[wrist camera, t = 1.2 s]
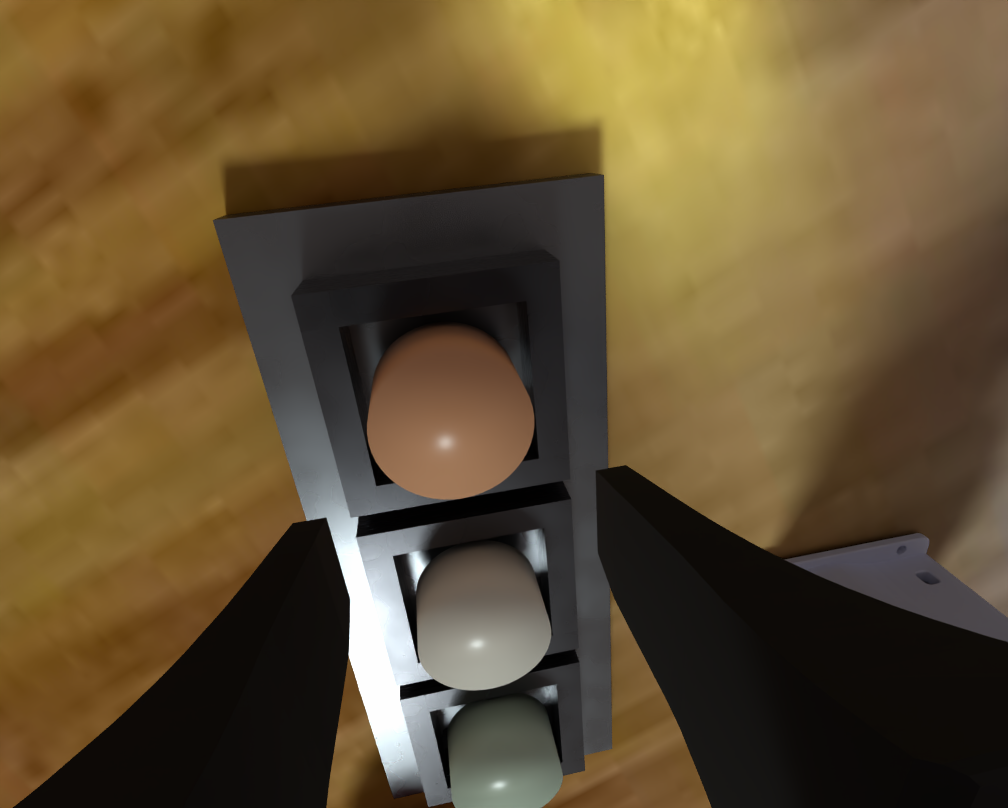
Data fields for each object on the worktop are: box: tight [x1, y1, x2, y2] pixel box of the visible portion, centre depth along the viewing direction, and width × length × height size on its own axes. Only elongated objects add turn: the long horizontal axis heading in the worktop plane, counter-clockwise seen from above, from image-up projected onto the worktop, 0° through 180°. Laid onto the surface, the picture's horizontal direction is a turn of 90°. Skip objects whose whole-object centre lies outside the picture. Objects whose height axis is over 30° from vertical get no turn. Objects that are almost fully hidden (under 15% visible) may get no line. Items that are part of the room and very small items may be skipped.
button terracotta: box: [367, 322, 534, 500], centre depth 16 cm, size 4×4×2 cm
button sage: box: [447, 692, 563, 808], centre depth 23 cm, size 4×4×2 cm
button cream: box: [416, 540, 551, 690], centre depth 19 cm, size 4×4×2 cm
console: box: [213, 173, 612, 807], centre depth 21 cm, size 11×27×3 cm, turn 5°
